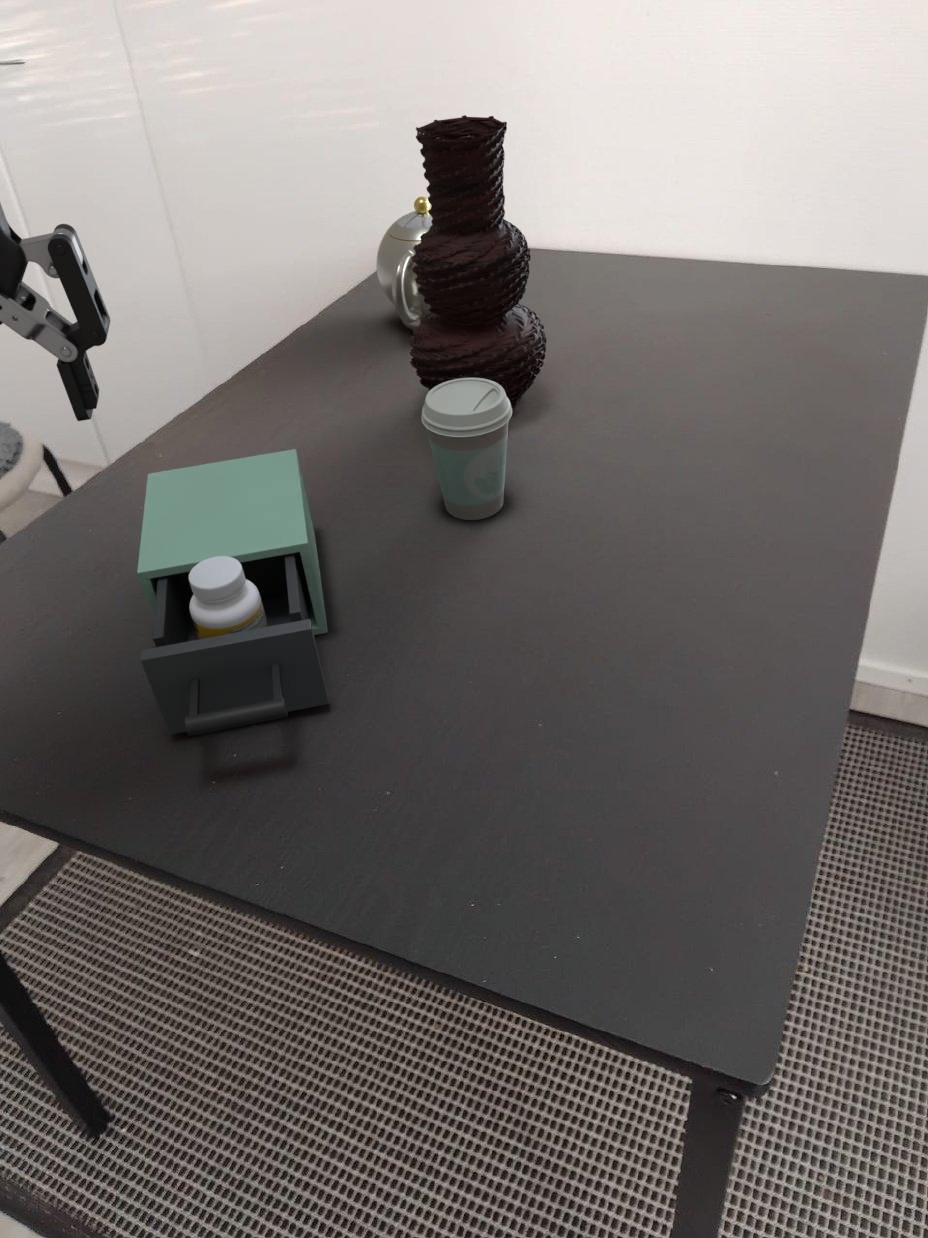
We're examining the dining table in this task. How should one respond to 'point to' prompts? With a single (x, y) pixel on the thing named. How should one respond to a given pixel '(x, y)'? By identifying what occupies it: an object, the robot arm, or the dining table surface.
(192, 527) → the green drawer cabinet
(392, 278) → the teapot
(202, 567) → the supplement bottle
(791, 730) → the dining table surface
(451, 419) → the coffee cup
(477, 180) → the vase
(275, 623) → the grey pull-out drawer
